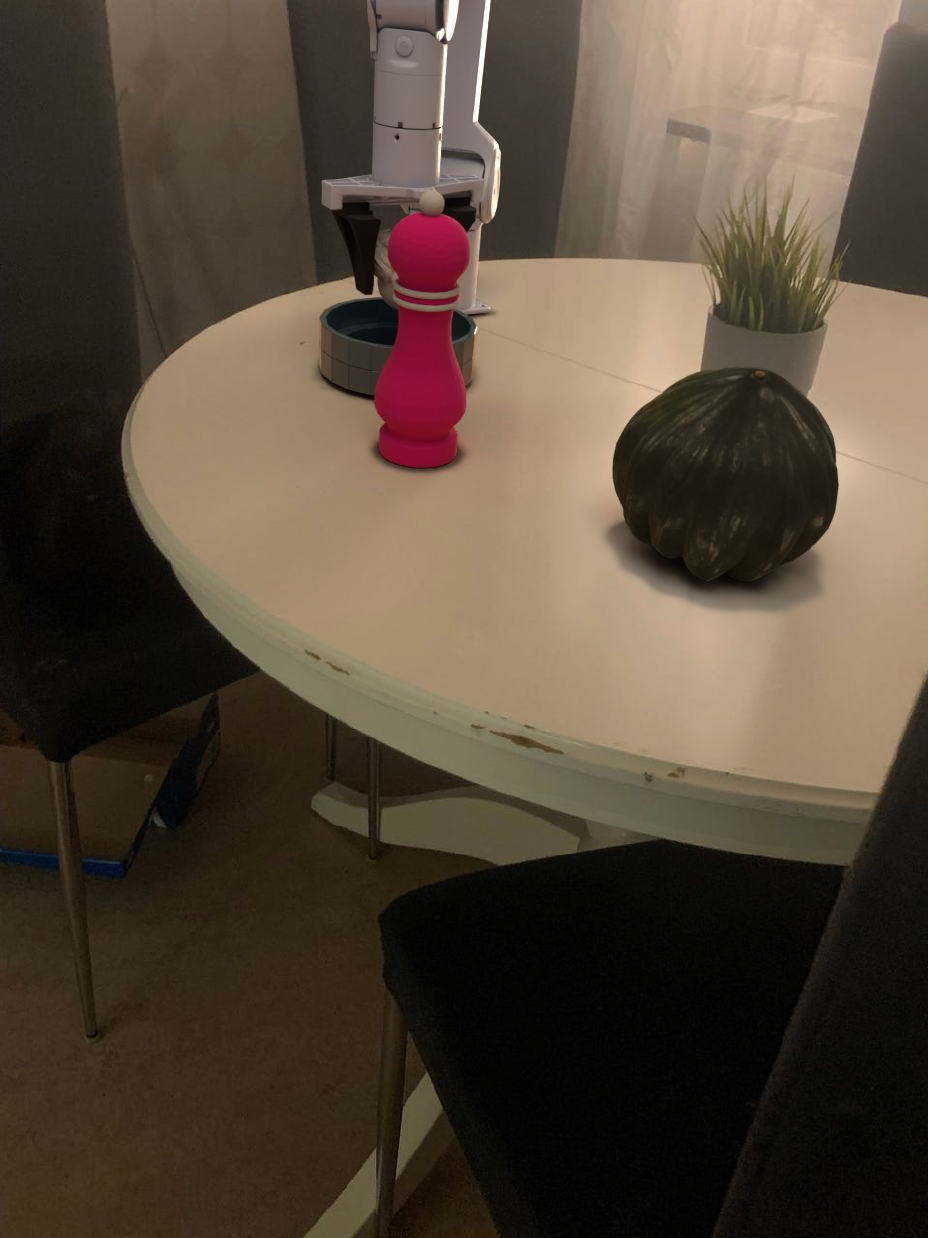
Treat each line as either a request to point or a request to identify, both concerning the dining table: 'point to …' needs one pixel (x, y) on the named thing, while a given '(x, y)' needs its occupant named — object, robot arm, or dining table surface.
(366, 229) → the robot arm
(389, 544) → the dining table surface
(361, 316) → the bowl
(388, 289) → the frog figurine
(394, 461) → the pepper mill
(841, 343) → the dining table surface
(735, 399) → the squash
